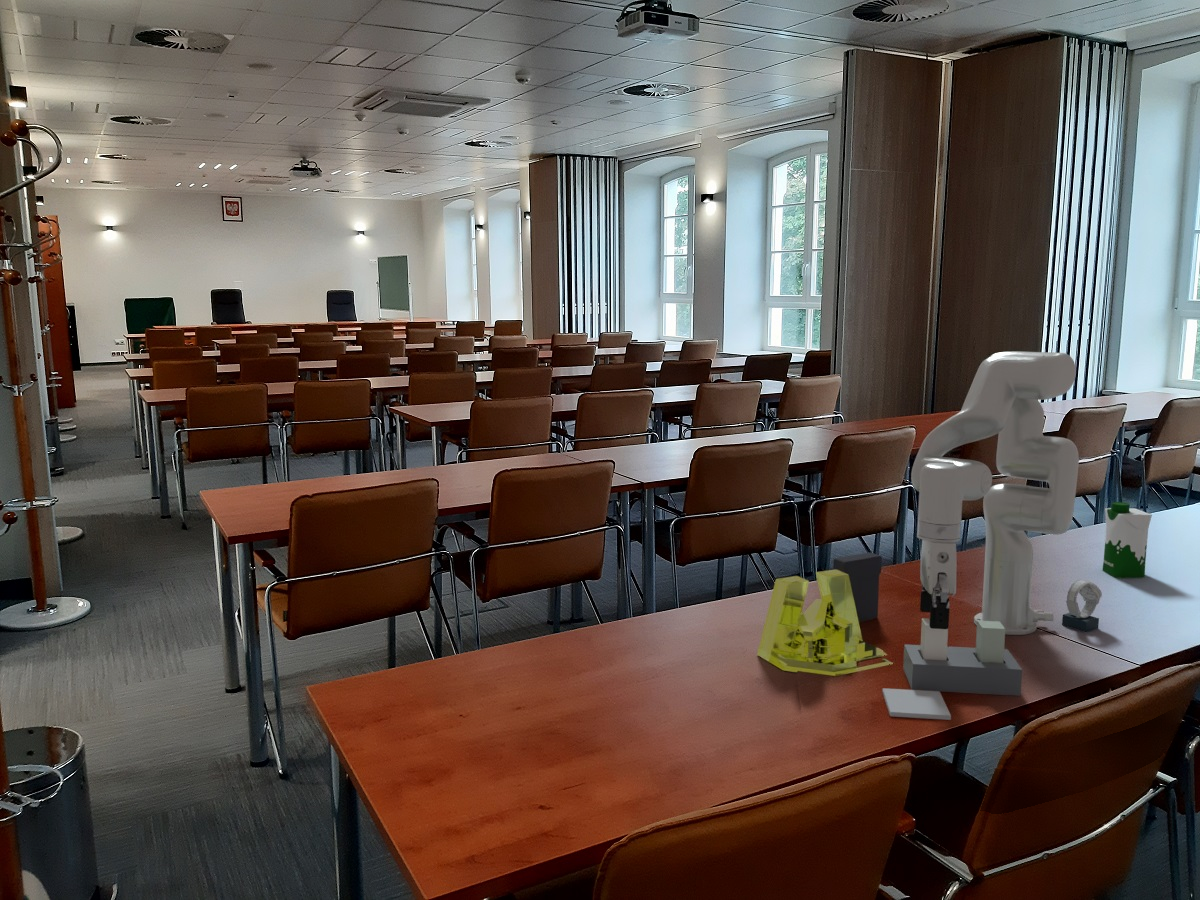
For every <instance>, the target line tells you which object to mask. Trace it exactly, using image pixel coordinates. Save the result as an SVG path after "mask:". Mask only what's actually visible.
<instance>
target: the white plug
mask: <svg viewBox="0 0 1200 900" xmlns="http://www.w3.org/2000/svg"><path fill="white" fill-rule="evenodd" d="M929 625H930V617H929V618H927V617H926V618H925V617H922V618H921V629H920V645H921V648H920V656H921V658H922V659H926V660H946V661H947V646H948V639H949V628H948V629H932V628H930V626H929Z"/></svg>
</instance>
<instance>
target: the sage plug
mask: <svg viewBox="0 0 1200 900" xmlns="http://www.w3.org/2000/svg"><path fill="white" fill-rule="evenodd" d="M975 635H976V637H975V648H976V653H975V657H976V659H977V660H978V662H986V663H1003V660H1004V649H1005V641H1006V640H1005V639H1006V634H1005V628H1004V626H1003V625H1002V624H1001V623H1000V622H999V621H977V625H976V634H975Z"/></svg>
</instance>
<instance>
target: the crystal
mask: <svg viewBox="0 0 1200 900" xmlns="http://www.w3.org/2000/svg"><path fill="white" fill-rule="evenodd" d="M815 575H816V579H817V584H818V589H819V594H820V598H815V600H813V602H812V603H811V604H810V605H809V606H808V607H807V608H806V609H805V611H803V608H804V604H805V600H806V596H807V592H808V588H809V584H810V580H808V579H806V578H803V577H802V576H798V575H793V576H787V577H780V578H775V582H774V584H773V589H772V594H771V597H770V602H769V605H768V609H767V613H766V617H765V622H764V626H763V629H762V632H761V633H762V634H761V637H760V641H759V645H758V649H757V652H756V653H757V654H756V655H757V656H759V657H761V658H762V659H763V660H765V661H767V662H768V663H770V664H771V665H774V667H777V668H779V669H780V670H782V671H783V672H784V671H786V672H792V673H798V672H803V673H812V674H818V675H826V676H834V677H837V676H843V675H847V674H851V673H857V672H861V671H862V672H863V671H866V670H870V669H876V668H881V667H885V666H890V665H893V663H894V662H893V661H890V660H888V659H886V658H882V657H885V656H888V654H887V653H886V652H885V651H884V650H883V649H881V648H879V647H877V646H875V645H873V644H871V643H869V642H867V641H865V640H864V639H863V635H862V631H861V628H860V622H859V621H858V617H857V612H856V607H855V603H854V598H853V593H852V589H851V584H850V579H849V576H848V574H846V573H844V572H841V571H839V570H837V569H835V570H833V569H831V570H830V569H829V570H822V571H815ZM802 611H803V612H802ZM884 655H885V656H884ZM878 658H881V660H882V661H883V662H877V663H874V664H869V665H865V666H860V667H858V666H857V662H862V661H867V660H870V659H871V660H873V659H878ZM889 664H890V665H889Z"/></svg>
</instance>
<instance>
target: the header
mask: <svg viewBox="0 0 1200 900" xmlns="http://www.w3.org/2000/svg"><path fill="white" fill-rule="evenodd" d="M920 648H921V644H904V646H903V667H902V669H903V671H904V674H905V677H906V680H907V681H908V684H909V686H910V690H922V691H940V692H943V693H944V692H945V693H947V692H948V693H950V692H951V693H965V694H968V693H969V694H982V695H999V696H1001V695H1003V696H1016V697H1017V696H1019V697H1021V696H1022V682H1023V681H1022V679H1023V668H1022V667H1021V666H1020V664H1019V663H1018V662H1017V660H1016V658H1014V656H1013V654H1012V653H1011V652H1010V651H1009V649H1005V648H1004V660H1003V663H986V662H978V660H977V659H976V657H975V653H976V647H968V646H966V647H965V646H948V645H947V661H946V660H926V659H922V658H921V656H920Z"/></svg>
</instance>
